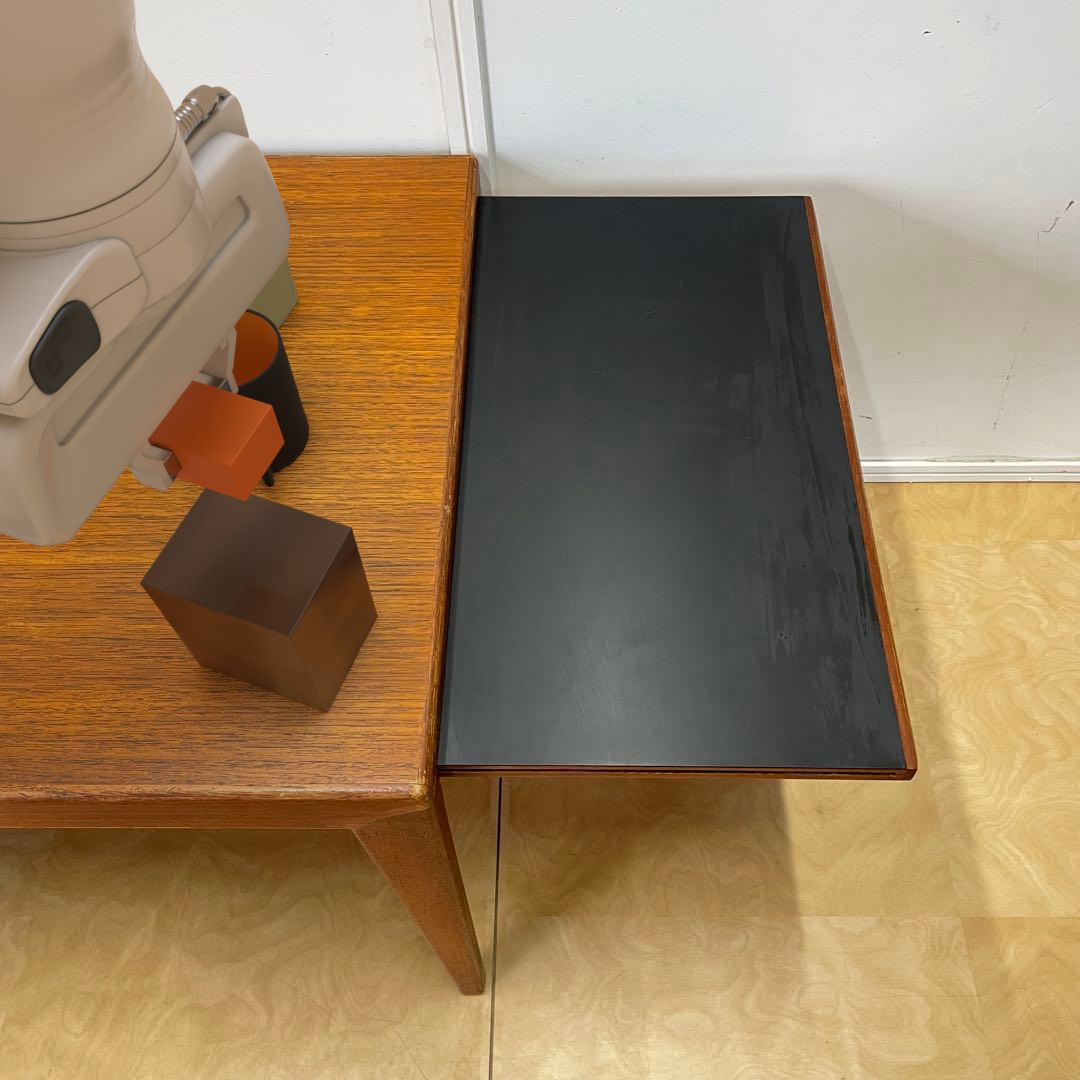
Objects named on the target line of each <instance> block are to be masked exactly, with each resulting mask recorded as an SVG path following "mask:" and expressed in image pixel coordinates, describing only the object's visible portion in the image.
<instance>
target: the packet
mask: <svg viewBox="0 0 1080 1080" xmlns="http://www.w3.org/2000/svg"><path fill="white" fill-rule="evenodd" d="M148 441H149V442H150V443H153V444H155V445H156V446H162V447H164V448H167V449H170V450H173V451H174V453H175V455H176V457H177V459H178V463H180V464H181V466H182V469H181V471H180V472H179V474H178V475H177V476H176V478H175V479H178V480H181V481H184V482H186V483H190V484H193V485H196V486H199V487H202V488H203V489H205V488H207V489H210V490H213V491H216V492H219V493H222V494H225V495H228V496H231V497H234V498H237V499H240V500H243V501H247V499H248V497H249V496H250V494H252V493H253V491H254V490H255V489H256V487H257V485H258V484H259V482H260V481H261V479H262V476H263V475H264V473H265V472H266V470H267V469H268V467H269V466H270V464H271V463H272V461H273V459H274V458H275V456H276V455H277V453H278V452H279V450H280V449H281V447H282V446H283V444H284V439H283V436H282V433H281V431H280V428H279V425H278V422H277V419H276V416H275V413H274V410H273V407H272V406H271V405H269V404H266V403H263V402H260V401H256V400H253V399H250V398H247V397H244V396H241V395H238V394H234V393H231V392H228V391H225V390H222V389H219V388H216V387H212V386H209V385H206V384H203V383H200V382H197V381H194V380H193V381H192V382H191V383H190V385H189V386H188V387H187V389H186V390H185V391H184V393H183V394H182V395H181V397H180V398H179V399H178V401H177V402H176V403H175V405H174V406H173V407H172V408H171V410H170V411H169V412H168V414H167V415H166V416H165V418H164V419H163V420H162V422H161V423H160V424H159V426H158V427H157V428H156V430H155V431H154V432H153V434H152V435H151V436H150V437H149V439H148Z"/></svg>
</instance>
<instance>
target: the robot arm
mask: <svg viewBox="0 0 1080 1080" xmlns="http://www.w3.org/2000/svg"><path fill="white" fill-rule="evenodd" d="M136 23H137V20H136V4H135V0H0V534H2V535H5V536H7V537H10V538H13V539H15V540H18V541H21V542H24V543H27V544H31V545H34V546H39V547H52V546H53V547H55V546H60V545H66V544H67V543H69V542H71V541H72V540H73V539H74V538H75V536H76V535H77V534H78V533H79V531H81V528H82V527H83V526H84V524H85V523H86V522H87V520H88V519H89V518H90V516H91V515H92V514H93V512H94V511H95V510H96V509H97V507H98V506H99V504H100V503H101V502H102V501H103V500H104V498H105V497H106V496H107V494H108V493H109V492H110V490H111V489H112V487H114V485H115V484H116V483H117V481H118V480H119V479H120V477H121V476H122V474H123V473H124V472H125V470H126V469H127V468H128V469H129V471H130V473H131V474H132V475H133V477H134V479H135V480H137V482H138V483H140V484H142V485H143V486H147V487H149V488H152V489H154V490H158V491H160V492H167V491H168V490H169V489H170V487H171V486H172V485H173V483H174V481H175V479H177V478H176V476H177V475H178V474H179V472H180V471H181V469H182V466H181V464H180V463H178V459H177V457H176V455H175V453H174V451H173V450H170V449H167V448H164V447H162V446H156V445H155V444H153V443H150V442H149V441H148V439H149V437H150V436H151V435H152V434H153V432H154V431H155V430H156V428H157V427H158V426H159V424H160V423H161V422H162V420H163V419H164V418H165V416H166V415H167V414H168V412H169V411H170V410H171V408H172V407H173V406H174V405H175V403H176V402H177V401H178V399H179V398H180V397H181V395H182V394H183V393H184V391H185V390H186V389H187V387H188V386H189V385H190V383H191V382H192V381H193V380H194V381H197V382H200V383H203V384H206V385H209V386H212V387H216V388H219V389H222V390H225V391H228V392H231V393H234V394H237V392H238V390H239V389H238V387H237V384H236V381H235V379H234V376H233V373H232V370H233V364H234V355H235V346H236V336H237V332H236V329H235V324H236V323H237V322H238V320H239V319H240V318H241V316H242V315H243V314H244V312H245V311H246V310H247V308H248V307H249V306H250V305H251V303H252V302H253V301H254V299H255V298H256V297H257V295H258V294H259V293H260V291H261V290H262V289H263V287H264V286H265V285H266V284H267V282H268V281H269V280H270V278H271V277H272V276H273V274H274V273H275V272H276V270H277V269H278V268H279V267H280V265H281V264H282V263H283V261H284V260H285V259H286V257H287V258H288V253H289V249H290V243H291V232H292V231H291V225H290V221H289V217H288V215H287V211H286V208H285V206H284V202H283V199H282V196H281V194H280V191H279V189H278V186H277V184H276V180H275V178H274V176H273V173H272V171H271V168H270V167H269V164H268V162H267V159H266V158H265V156H264V154H263V152H262V150H261V149H260V148H259V146H258V144H257V143H255V141H253V140H252V139H251V138H250V135H249V130H248V127H247V123H246V118H245V115H244V112H243V108H242V105H241V102H240V101H239V98H237V96H235V95H233V94H232V92H230V91H229V90H228V89H227V88H225V87H223V86H213V87H212V86H210V85H207V84H201V85H199V86H196V87H195V88H193V89H192V90H191V91H189V92H188V93H187V94H186V95H185V97H184V98H183V100H182V101H181V104H180V105H179V106H178V107H177V109H176V110H174V107H173V105H172V102H171V100H170V97H169V96H168V94H167V92H166V90H165V89H164V87H163V85H162V83H161V82H160V81H159V79H158V78H157V77H156V75H155V74H154V73H153V72H152V70H151V68H150V67H149V65H148V63H147V61H146V60H145V57H144V55H143V53H142V50H141V47H140V44H139V39H138V35H137V24H136Z"/></svg>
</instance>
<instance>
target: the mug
mask: <svg viewBox="0 0 1080 1080" xmlns="http://www.w3.org/2000/svg"><path fill="white" fill-rule="evenodd" d="M235 329H236V332H237V336H236V346H235V355H234V364H233V370H232V373H233V376H234V379H235V381H236V384H237V387H238V389H239V390H238V392H237V394H238V395H241V396H244V397H247V398H250V399H253V400H256V401H260V402H263V403H266V404H269V405H271V406H272V407H273V410H274V413H275V416H276V419H277V422H278V425H279V428H280V431H281V433H282V436H283V439H284V444H283V446H282V447H281V449H280V450H279V452H278V453H277V455H276V456H275V458H274V459H273V461H272V463H271V464H270V466H269V467H268V469H267V470H266V472H265V473H264V475H263V476H262V478H261V479H262V482H263V484H264V486H266V488H273V487H274V485H275V477H274V475H273V473H277V472H279V471H281V470H283V469H285V468H286V467H288V466H289V465H290V464H292V463H293V462H294V461H295V460H296V459H297V458H298V457H299V456H300V455H301V453H302V452H303V451H304V449H305V447H306V446H307V443H308V441H309V440H308V439H309V436H310V427H309V421H308V418H307V416H306V412H305V409H304V405H303V403H302V399H301V396H300V392H299V389H298V386H297V383H296V380H295V376H294V374H293V370H292V367H291V364H290V360H289V357H288V355H287V352H286V347H285V344H284V342H283V338H282V336H281V333H280V330H279V329H278V328H277V327H276V326H275V324H274V323H273V322H272V321H271V320H270V319H269V318H267V317H266V316H264V315H263V314H261V313H259V312H256V311H253V310H250V309H247V310H246V311H245V312H244V314H243V315H242V316H241V318H240V319H239V320H238V322H237V323H236V324H235Z"/></svg>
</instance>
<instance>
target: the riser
mask: <svg viewBox="0 0 1080 1080" xmlns="http://www.w3.org/2000/svg"><path fill="white" fill-rule="evenodd" d="M139 584H140V585H141V587H142V588H143V590H144V591H145V592H146V594H147V595H148V597H149V598H150V599H151V601H152V602H153V603H154V604H155V606H156V607H157V609H158V610H159V612H160V613H161V615H162V616H163V617H164V618H165V619H166V621H167V622H168V623H169V625H170V626H171V628H172V629H173V631H174V632H175V633H176V634H177V636H178V638H180V641H182V643H183V644H184V646H185V648H187V650H188V651H189V653H190V654H191V655H192V657H193V658H194V659H195V660H196V662H197V663H198V665H199V666H201V667H203V668H206V669H209V670H212V671H214V672H217V673H220V674H223V675H225V676H227V677H229V678H233V679H236V680H238V681H241V682H243V683H246V684H249V685H252V686H255V687H257V688H260V689H262V690H265V691H268V692H271V693H273V694H276V695H279V696H281V697H284V698H287V699H289V700H292V701H295V702H298V703H300V704H302V705H306V706H309V707H311V708H313V709H317V710H319V711H322V712H324V713H329V710H330V708H331V706H332V704H333V703H334V701H335V699H336V697H337V695H338V693H339V691H340V689H341V687H342V685H343V683H344V681H345V679H346V678H347V676H348V674H349V671H350V670H351V667H352V666H353V664H354V662H355V661H356V658H357V656H358V654H359V653H360V650H361V648H362V646H363V644H365V641H366V639H367V637H368V635H369V633H370V631H371V629H372V627H373V626H374V623H375V622H376V619H377V618H378V612H377V608H376V605H375V601H374V599H373V595H372V592H371V587H370V584H369V581H368V577H367V575H366V571H365V568H364V565H363V561H362V558H361V554H360V550H359V547H358V543H357V541H356V537H355V534H354V531H353V528H352V527H351V526H349V525H346V524H343V523H340V522H337V521H333V520H331V519H329V518H325V517H322V516H319V515H316V514H313V513H309V512H307V511H304V510H301V509H298V508H294V507H291V506H289V505H286V504H283V503H280V502H277V501H273V500H271V499H267V498H264V497H262V496H258V495H255V494H252V493H251V494H250V496H249V497H248V499H247V501H243V500H240V499H237V498H234V497H231V496H228V495H225V494H222V493H219V492H216V491H213V490H210V489H207V488H203V490H202V491H201V493H200V494H199V496H198V497H197V499H196V500H195V501H194V503H193V505H192V506H191V507H190V509H189V510H188V511H187V513H186V515H185V516H184V517H183V519H182V521H181V522H180V524H179V525H178V526H177V528H176V529H175V531H174V532H173V534H172V535H171V537H170V538H169V540H168V541H167V543H165V545H164V547H163V548H162V550H161V551H160V553H159V554H158V555H157V557H156V558H155V560H154V562H153V563H152V564H151V566H149V568H148V570H147V572H146V573H145V574H144V576H143V577H142V579H141V580H140V583H139Z"/></svg>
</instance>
